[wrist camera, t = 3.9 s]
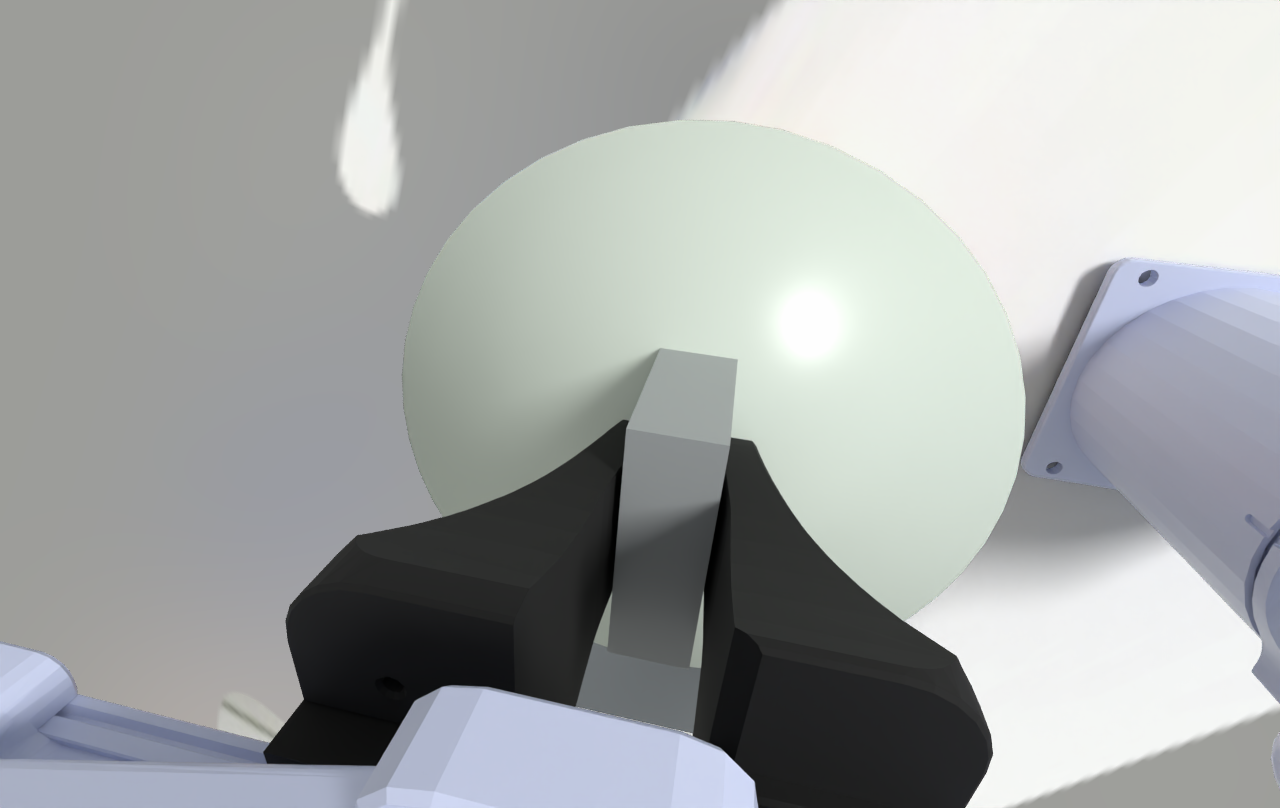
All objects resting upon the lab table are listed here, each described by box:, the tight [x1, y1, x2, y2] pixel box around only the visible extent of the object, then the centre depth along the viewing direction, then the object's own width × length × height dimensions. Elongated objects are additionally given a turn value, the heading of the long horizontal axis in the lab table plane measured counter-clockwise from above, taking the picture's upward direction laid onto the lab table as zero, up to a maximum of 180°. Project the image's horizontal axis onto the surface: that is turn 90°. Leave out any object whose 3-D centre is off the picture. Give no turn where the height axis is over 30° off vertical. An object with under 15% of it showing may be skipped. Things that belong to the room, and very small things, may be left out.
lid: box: [402, 120, 1026, 670], centre depth 12 cm, size 14×14×4 cm
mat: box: [576, 642, 701, 733], centre depth 29 cm, size 16×13×1 cm
